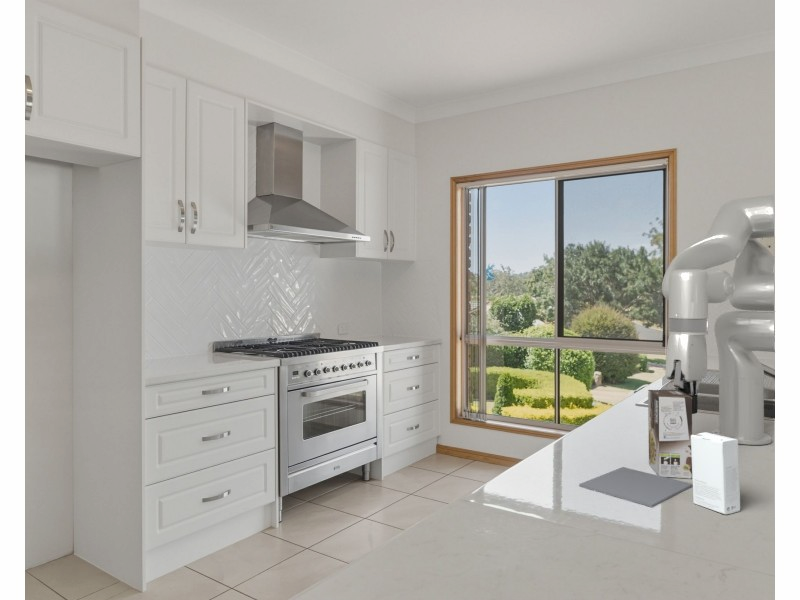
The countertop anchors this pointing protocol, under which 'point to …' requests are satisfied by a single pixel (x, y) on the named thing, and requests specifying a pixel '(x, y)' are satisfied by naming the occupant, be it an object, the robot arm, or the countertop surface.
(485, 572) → the countertop surface
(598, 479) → the mat
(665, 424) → the coffee box
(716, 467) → the skincare box
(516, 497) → the countertop surface
